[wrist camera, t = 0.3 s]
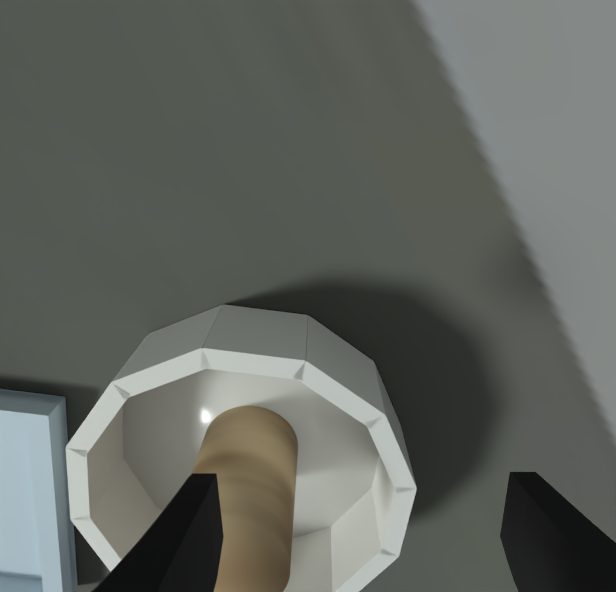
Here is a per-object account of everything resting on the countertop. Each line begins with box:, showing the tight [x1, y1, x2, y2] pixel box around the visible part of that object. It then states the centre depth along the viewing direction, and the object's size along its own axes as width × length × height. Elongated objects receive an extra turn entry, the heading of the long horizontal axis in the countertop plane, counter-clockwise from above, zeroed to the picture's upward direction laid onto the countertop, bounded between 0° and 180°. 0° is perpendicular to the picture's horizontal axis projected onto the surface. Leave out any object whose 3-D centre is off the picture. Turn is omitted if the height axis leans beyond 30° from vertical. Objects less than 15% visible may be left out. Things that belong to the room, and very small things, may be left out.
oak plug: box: [191, 406, 298, 592], centre depth 20 cm, size 4×4×6 cm
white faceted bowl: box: [66, 305, 417, 592], centre depth 21 cm, size 14×14×4 cm
